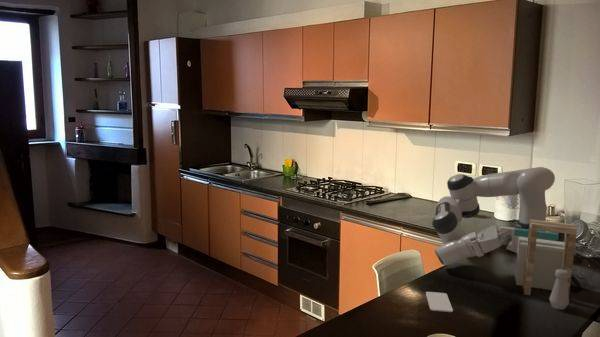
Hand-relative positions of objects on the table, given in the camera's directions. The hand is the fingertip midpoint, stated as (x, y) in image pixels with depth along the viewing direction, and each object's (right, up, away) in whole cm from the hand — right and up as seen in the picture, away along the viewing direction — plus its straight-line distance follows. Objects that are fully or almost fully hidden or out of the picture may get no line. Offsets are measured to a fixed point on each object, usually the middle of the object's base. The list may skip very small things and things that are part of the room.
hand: (510, 230), depth 187 cm
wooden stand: (+7, -22, -11) cm, 25 cm away
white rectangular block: (+10, -20, -1) cm, 23 cm away
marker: (+6, -2, -2) cm, 6 cm away
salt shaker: (+7, -23, -22) cm, 33 cm away
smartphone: (-33, -22, -21) cm, 45 cm away
